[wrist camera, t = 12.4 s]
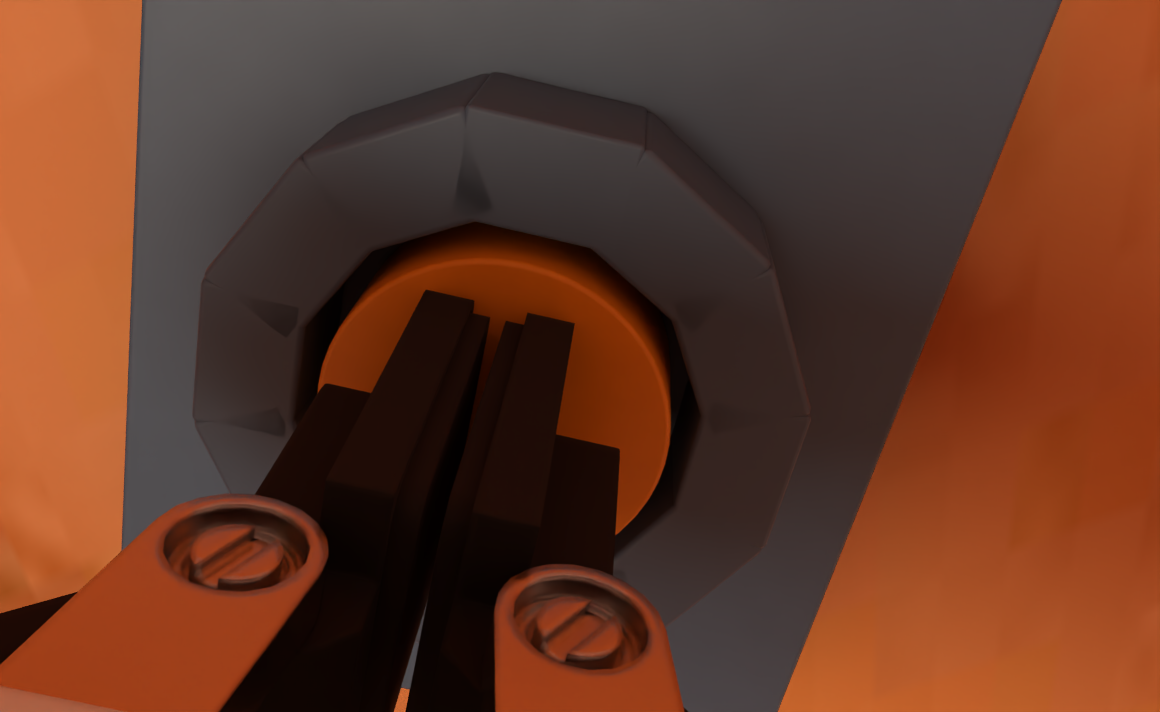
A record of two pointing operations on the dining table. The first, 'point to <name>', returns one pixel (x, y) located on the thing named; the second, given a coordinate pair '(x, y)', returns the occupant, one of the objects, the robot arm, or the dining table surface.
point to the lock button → (507, 293)
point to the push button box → (581, 243)
